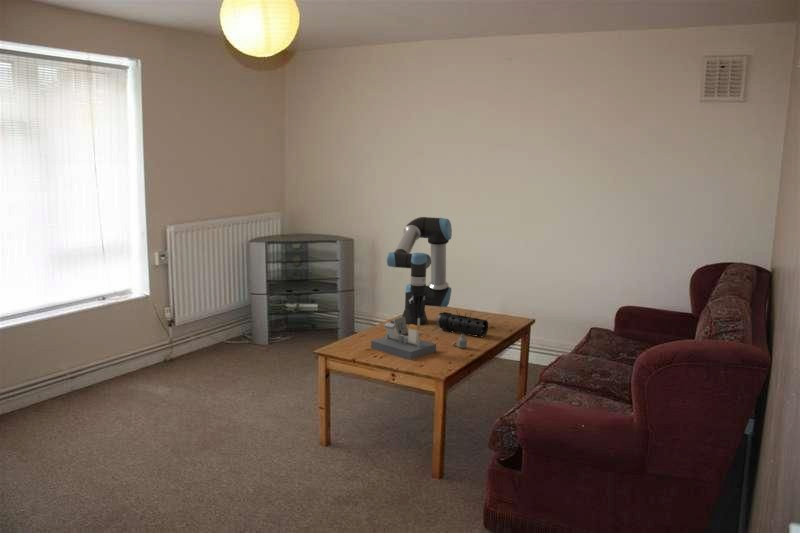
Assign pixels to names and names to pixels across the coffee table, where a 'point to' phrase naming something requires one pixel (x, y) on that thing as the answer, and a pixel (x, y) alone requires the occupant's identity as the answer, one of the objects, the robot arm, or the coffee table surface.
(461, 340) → the reed diffuser
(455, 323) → the muzzle brake
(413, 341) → the breaker
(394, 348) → the breaker panel
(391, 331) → the breaker
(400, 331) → the electrical switch
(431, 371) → the coffee table surface
